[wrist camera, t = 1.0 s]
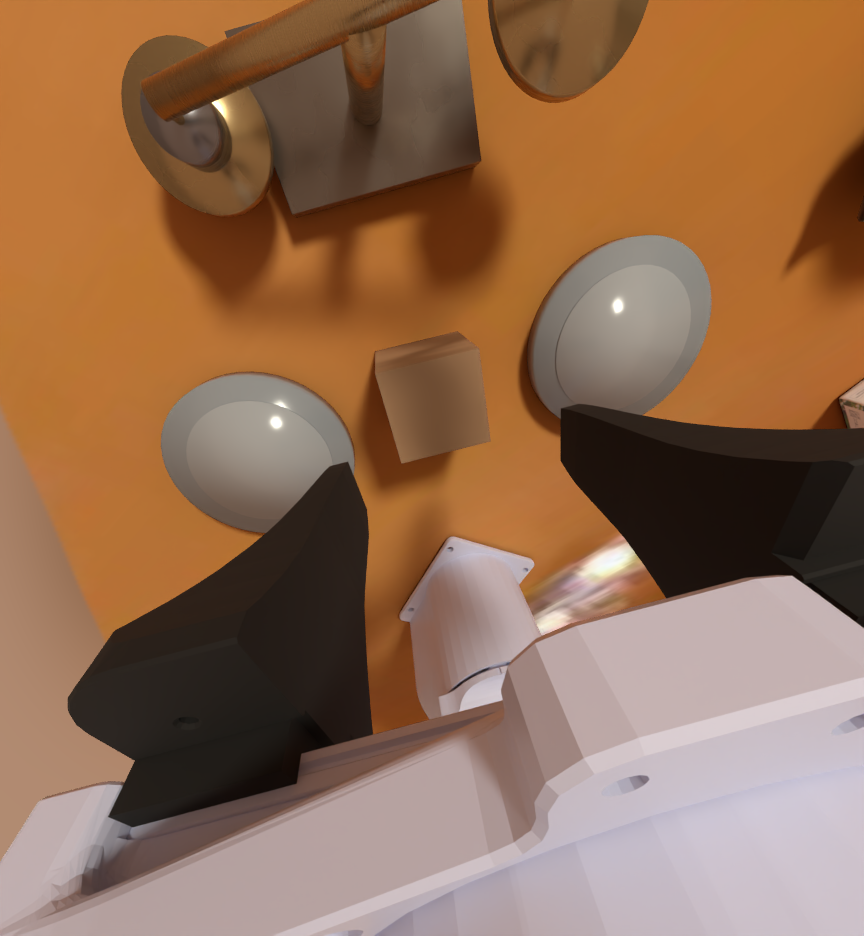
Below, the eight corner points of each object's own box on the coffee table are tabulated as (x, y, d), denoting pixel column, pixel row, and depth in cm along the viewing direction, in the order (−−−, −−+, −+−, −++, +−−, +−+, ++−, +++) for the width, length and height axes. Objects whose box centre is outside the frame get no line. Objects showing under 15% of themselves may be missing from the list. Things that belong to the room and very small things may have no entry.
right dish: (615, 443, 23) (625, 451, 22) (494, 385, 20) (500, 391, 19) (731, 296, 19) (749, 298, 18) (604, 192, 16) (619, 187, 15)
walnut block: (457, 331, 18) (479, 348, 14) (469, 408, 21) (490, 441, 17) (375, 351, 18) (375, 373, 14) (396, 426, 20) (401, 463, 17)
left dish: (325, 538, 24) (323, 549, 23) (160, 497, 20) (149, 508, 19) (379, 414, 20) (380, 422, 19) (185, 337, 16) (173, 342, 15)
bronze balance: (559, -44, 12) (830, -499, 5) (564, 141, 15) (743, 23, 8) (126, 78, 12) (-235, -196, 5) (208, 242, 15) (48, 219, 8)
